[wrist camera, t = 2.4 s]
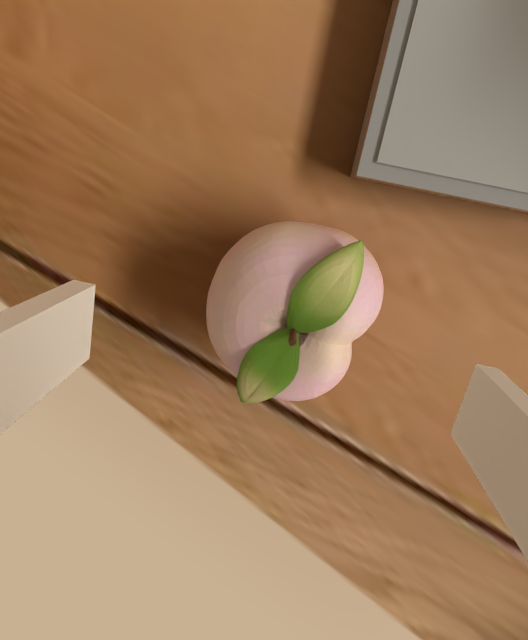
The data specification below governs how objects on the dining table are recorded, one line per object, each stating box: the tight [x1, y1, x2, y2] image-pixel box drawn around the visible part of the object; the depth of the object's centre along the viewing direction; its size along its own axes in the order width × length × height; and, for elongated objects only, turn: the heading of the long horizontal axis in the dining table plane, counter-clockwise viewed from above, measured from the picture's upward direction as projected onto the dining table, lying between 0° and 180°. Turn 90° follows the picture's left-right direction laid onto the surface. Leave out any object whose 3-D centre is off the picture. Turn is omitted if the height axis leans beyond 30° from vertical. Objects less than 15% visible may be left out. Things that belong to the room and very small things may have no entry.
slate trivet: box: [350, 0, 528, 213], centre depth 22 cm, size 12×12×3 cm
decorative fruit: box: [206, 221, 384, 403], centre depth 23 cm, size 9×8×10 cm
